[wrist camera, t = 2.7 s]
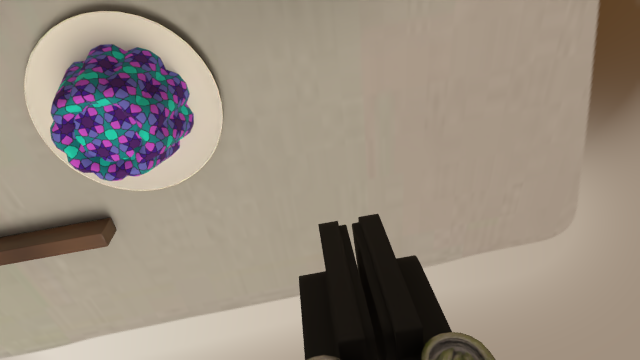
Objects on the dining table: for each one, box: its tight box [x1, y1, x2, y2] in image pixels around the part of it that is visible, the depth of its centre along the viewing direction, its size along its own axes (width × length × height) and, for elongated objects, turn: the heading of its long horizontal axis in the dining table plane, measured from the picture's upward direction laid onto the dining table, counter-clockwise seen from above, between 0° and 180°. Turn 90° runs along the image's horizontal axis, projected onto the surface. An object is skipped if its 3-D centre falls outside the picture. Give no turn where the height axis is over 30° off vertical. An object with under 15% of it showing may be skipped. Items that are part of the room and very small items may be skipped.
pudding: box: [24, 11, 223, 191], centre depth 26 cm, size 12×12×5 cm
